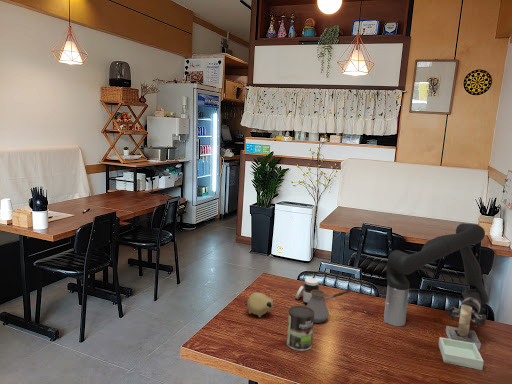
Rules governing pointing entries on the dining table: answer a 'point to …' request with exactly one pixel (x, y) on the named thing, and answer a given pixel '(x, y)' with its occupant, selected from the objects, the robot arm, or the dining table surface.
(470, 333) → the socket block
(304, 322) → the coffee can
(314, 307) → the coffee pot
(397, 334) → the dining table surface
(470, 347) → the tray
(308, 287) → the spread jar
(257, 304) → the toy pig
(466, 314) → the dowel
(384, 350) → the dining table surface
